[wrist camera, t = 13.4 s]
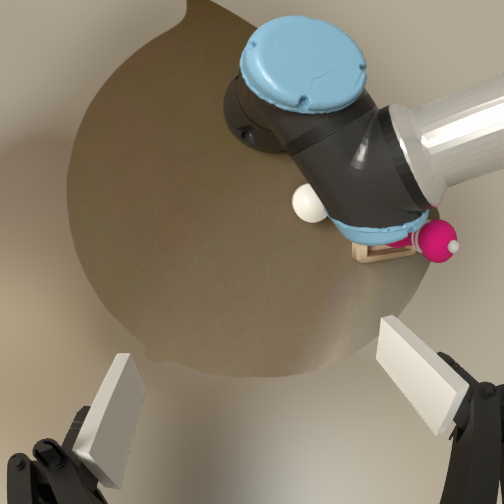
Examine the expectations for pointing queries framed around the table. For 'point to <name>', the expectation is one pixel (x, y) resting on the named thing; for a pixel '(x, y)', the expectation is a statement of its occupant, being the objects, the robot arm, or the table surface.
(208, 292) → the table surface
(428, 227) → the pepper mill
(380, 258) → the tray
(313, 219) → the white egg-shaped pebble
